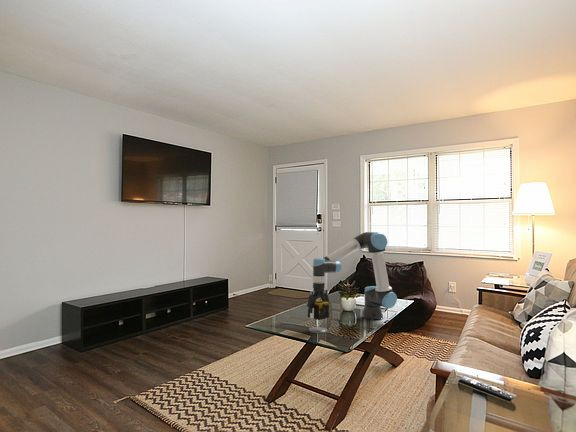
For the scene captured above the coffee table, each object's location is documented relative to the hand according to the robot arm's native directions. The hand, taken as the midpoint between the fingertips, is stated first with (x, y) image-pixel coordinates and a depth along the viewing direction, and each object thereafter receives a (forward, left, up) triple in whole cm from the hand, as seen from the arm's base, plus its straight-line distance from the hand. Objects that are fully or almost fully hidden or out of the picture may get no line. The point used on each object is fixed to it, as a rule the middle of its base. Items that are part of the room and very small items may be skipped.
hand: (318, 316), depth 220 cm
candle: (0, 0, -1) cm, 1 cm away
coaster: (0, 0, -9) cm, 9 cm away
